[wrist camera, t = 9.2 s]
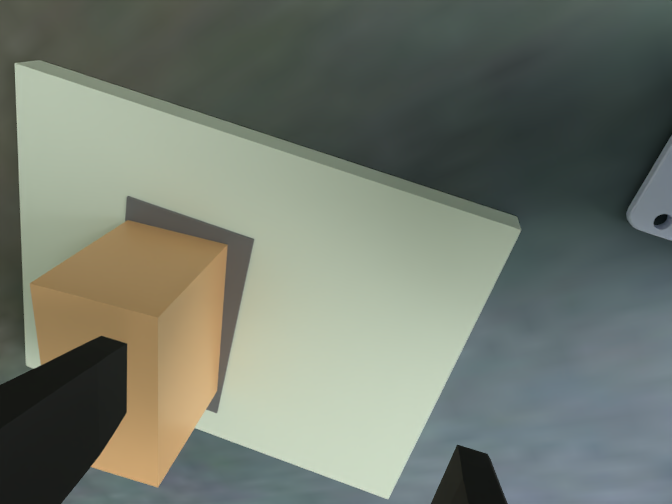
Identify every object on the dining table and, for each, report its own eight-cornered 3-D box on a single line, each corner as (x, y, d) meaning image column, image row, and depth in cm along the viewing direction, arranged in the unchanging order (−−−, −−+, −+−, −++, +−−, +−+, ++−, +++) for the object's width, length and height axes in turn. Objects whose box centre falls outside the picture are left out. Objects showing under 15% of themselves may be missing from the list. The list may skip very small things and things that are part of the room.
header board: (517, 216, 17) (535, 273, 14) (390, 477, 24) (379, 563, 20) (39, 60, 18) (-65, 72, 15) (44, 350, 25) (-28, 410, 21)
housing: (227, 244, 19) (157, 317, 14) (217, 390, 22) (158, 487, 17) (127, 219, 19) (29, 283, 15) (132, 367, 22) (53, 455, 18)
